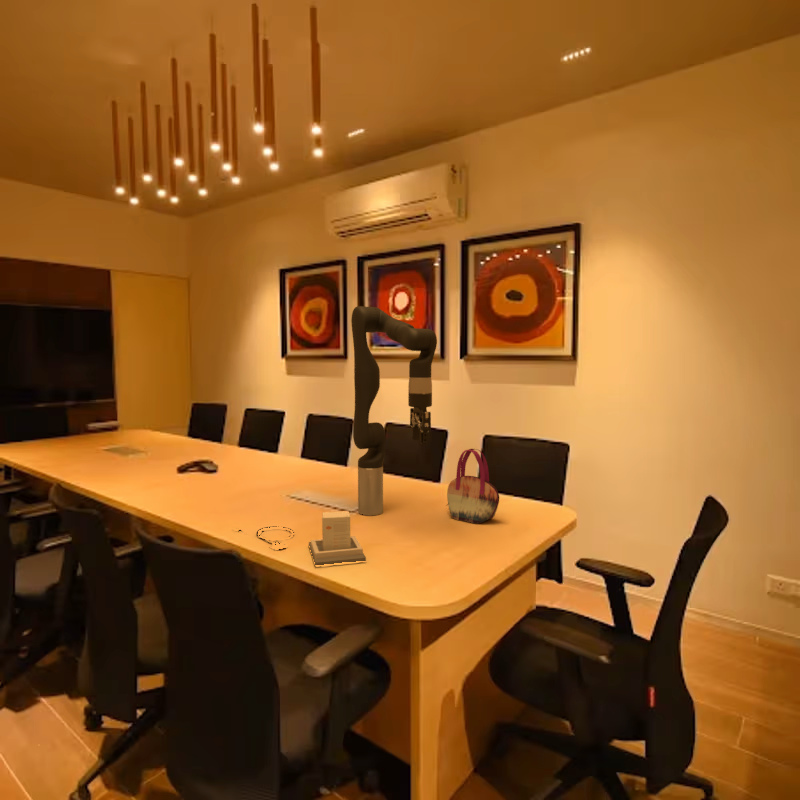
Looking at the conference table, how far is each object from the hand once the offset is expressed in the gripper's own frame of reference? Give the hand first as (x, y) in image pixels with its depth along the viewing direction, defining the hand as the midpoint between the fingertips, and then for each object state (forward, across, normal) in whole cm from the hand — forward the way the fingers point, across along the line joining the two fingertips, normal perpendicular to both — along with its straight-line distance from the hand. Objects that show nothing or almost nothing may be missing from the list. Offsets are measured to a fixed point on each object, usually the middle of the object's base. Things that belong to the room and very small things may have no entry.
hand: (419, 442), depth 172 cm
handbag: (+30, -11, +23) cm, 40 cm away
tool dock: (+30, +11, -29) cm, 43 cm away
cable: (+31, -12, -46) cm, 57 cm away
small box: (+29, +11, -29) cm, 42 cm away
